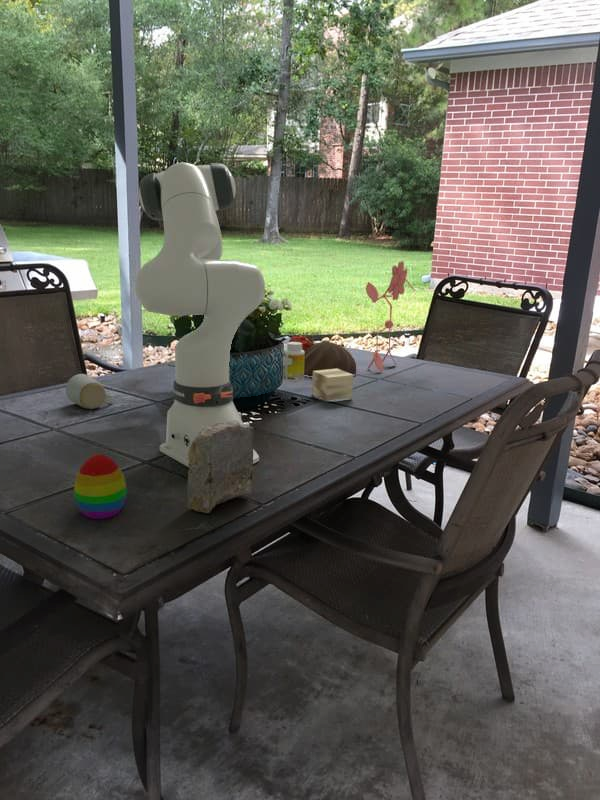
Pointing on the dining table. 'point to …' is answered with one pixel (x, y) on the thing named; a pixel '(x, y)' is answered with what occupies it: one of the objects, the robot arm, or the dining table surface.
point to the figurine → (396, 289)
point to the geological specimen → (220, 465)
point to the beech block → (332, 384)
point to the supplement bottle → (297, 368)
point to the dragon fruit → (302, 341)
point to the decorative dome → (328, 358)
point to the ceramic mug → (87, 392)
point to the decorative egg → (100, 488)
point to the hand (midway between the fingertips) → (297, 359)
